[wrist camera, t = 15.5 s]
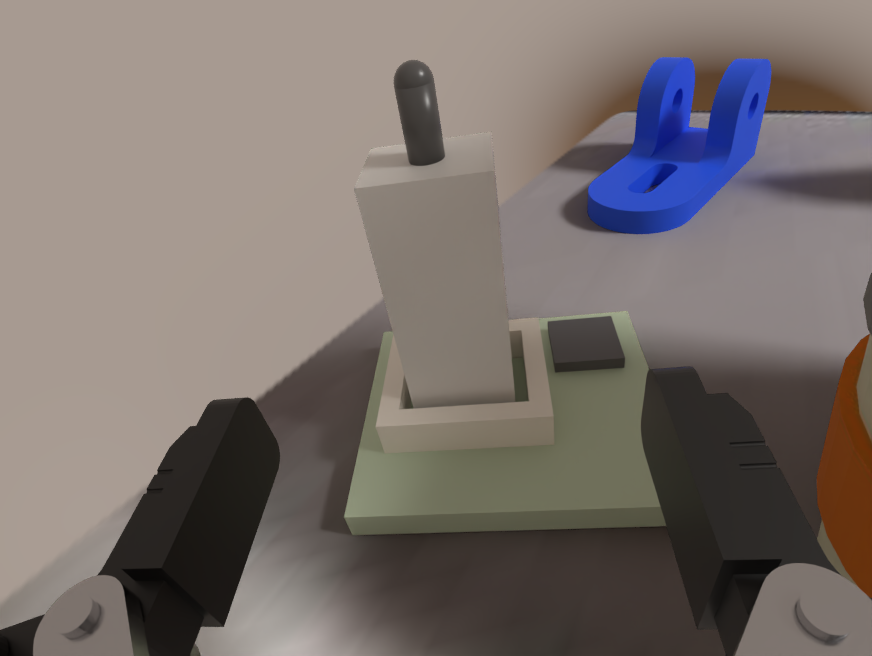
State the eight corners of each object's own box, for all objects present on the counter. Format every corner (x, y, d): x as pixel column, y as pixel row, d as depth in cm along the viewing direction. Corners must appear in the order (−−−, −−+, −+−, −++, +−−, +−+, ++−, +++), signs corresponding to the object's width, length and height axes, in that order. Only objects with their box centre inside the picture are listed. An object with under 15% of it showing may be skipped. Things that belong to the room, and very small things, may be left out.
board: (625, 330, 32) (629, 283, 30) (695, 525, 22) (708, 475, 20) (388, 349, 34) (376, 307, 32) (352, 535, 24) (331, 491, 22)
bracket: (665, 145, 53) (676, 48, 47) (753, 156, 48) (778, 48, 42) (568, 221, 44) (568, 112, 38) (665, 245, 39) (682, 123, 33)
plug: (511, 356, 29) (482, 32, 19) (517, 421, 26) (484, 62, 16) (425, 363, 30) (353, 54, 20) (418, 427, 26) (326, 87, 16)
